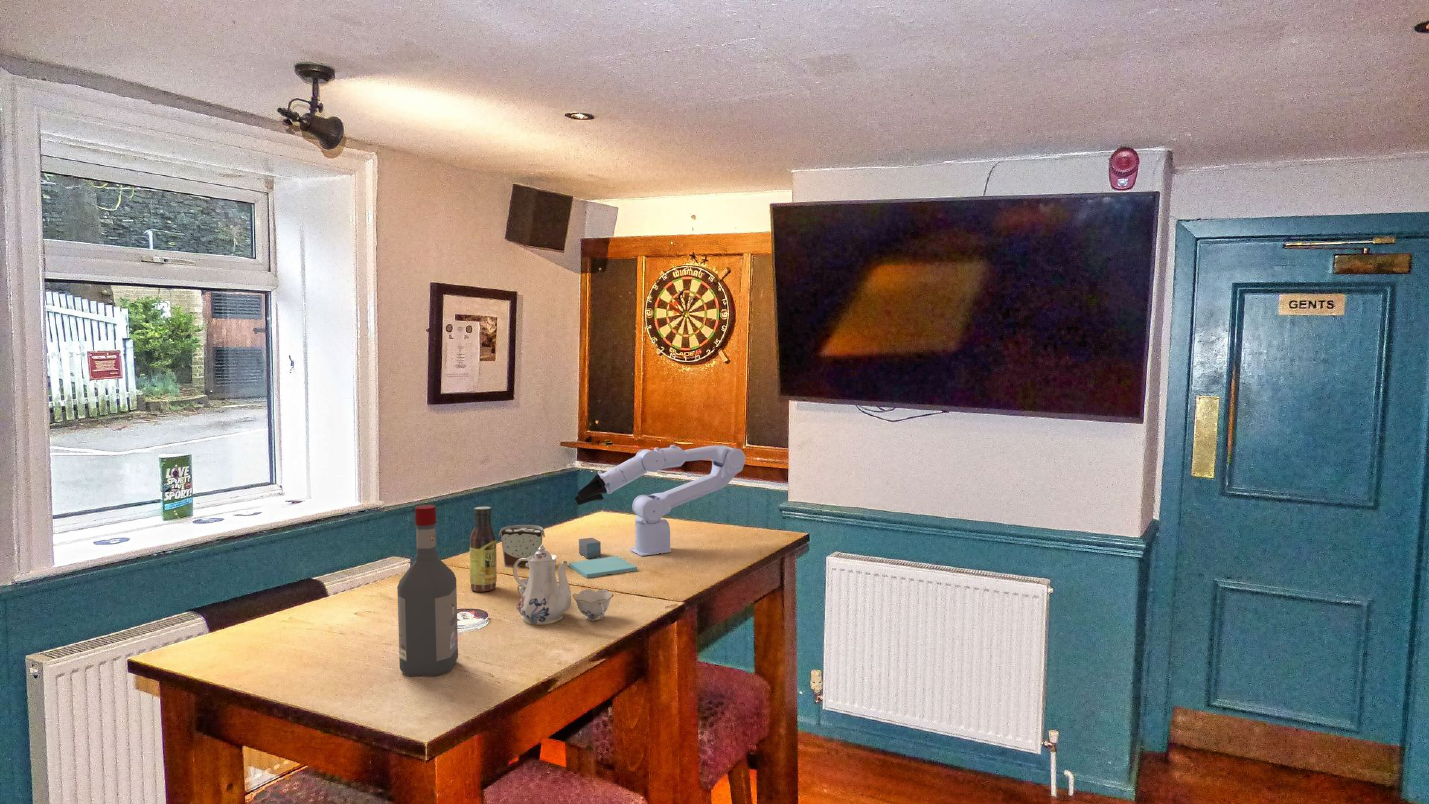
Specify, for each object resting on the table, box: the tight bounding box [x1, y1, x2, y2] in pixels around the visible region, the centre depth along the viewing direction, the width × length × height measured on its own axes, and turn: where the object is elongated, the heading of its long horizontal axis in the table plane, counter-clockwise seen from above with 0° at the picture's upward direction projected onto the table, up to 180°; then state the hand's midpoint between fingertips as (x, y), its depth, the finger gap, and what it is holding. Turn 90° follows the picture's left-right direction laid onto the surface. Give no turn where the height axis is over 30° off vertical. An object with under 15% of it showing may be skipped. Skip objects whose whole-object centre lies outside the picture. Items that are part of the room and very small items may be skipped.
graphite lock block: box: [578, 537, 602, 560], centre depth 242 cm, size 4×6×4 cm, turn 30°
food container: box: [498, 524, 546, 567], centre depth 234 cm, size 12×6×10 cm, turn 84°
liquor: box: [397, 504, 459, 678], centre depth 160 cm, size 9×9×30 cm
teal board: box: [567, 555, 638, 579], centre depth 229 cm, size 14×13×1 cm
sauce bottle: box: [469, 506, 498, 593], centre depth 210 cm, size 7×6×20 cm
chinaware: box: [512, 544, 615, 626], centre depth 191 cm, size 28×17×17 cm, turn 59°
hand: (577, 499), depth 237 cm, fingers open, 7 cm apart
